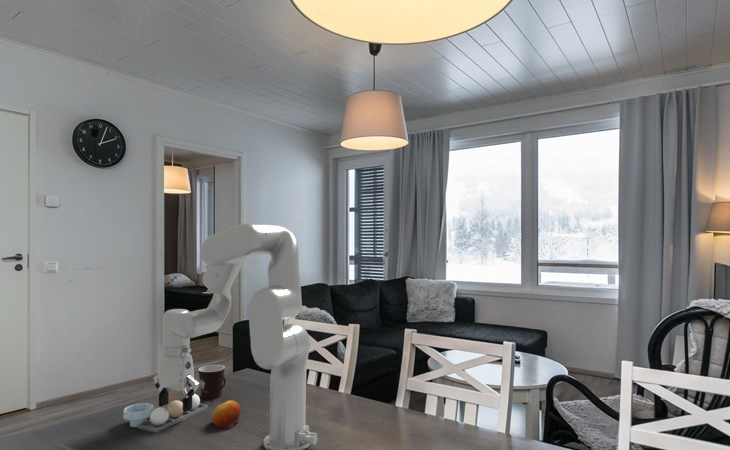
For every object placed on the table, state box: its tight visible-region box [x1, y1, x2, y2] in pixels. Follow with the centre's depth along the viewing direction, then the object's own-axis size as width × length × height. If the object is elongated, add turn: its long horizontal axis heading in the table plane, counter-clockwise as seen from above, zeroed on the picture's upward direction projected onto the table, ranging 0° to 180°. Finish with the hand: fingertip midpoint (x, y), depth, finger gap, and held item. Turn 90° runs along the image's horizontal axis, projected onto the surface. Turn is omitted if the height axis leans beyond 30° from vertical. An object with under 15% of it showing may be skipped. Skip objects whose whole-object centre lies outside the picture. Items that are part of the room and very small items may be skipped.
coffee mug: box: [198, 364, 226, 400], centre depth 155 cm, size 12×9×10 cm
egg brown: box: [166, 399, 183, 418], centre depth 137 cm, size 5×5×5 cm
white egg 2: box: [190, 393, 201, 410], centre depth 144 cm, size 5×5×5 cm
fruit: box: [211, 400, 241, 429], centre depth 133 cm, size 8×8×8 cm
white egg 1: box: [149, 406, 169, 426], centre depth 132 cm, size 5×5×5 cm
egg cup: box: [122, 402, 154, 428], centre depth 132 cm, size 8×8×5 cm
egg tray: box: [137, 402, 209, 434], centre depth 137 cm, size 7×20×1 cm, turn 157°
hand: (175, 407), depth 138 cm, fingers open, 9 cm apart
